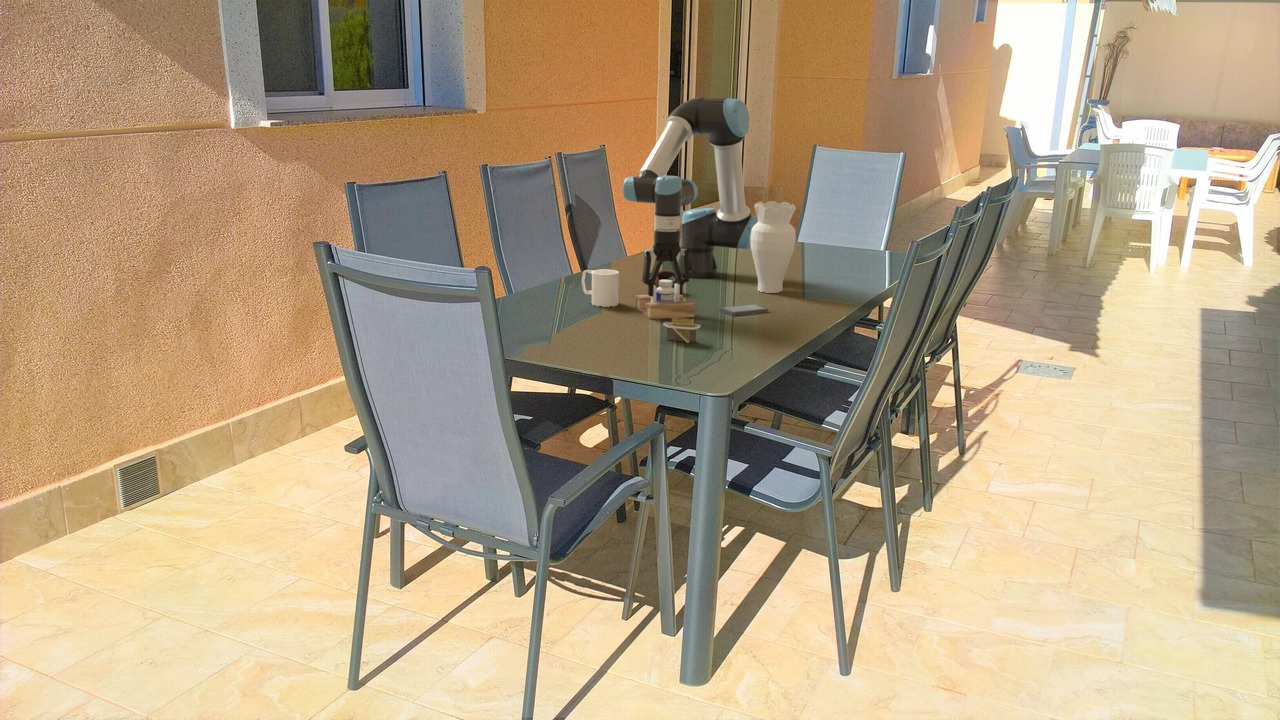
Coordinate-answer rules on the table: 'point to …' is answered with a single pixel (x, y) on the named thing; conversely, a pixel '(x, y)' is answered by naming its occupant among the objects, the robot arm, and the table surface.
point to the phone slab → (743, 309)
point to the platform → (681, 330)
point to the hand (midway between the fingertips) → (664, 306)
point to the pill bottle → (665, 291)
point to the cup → (603, 287)
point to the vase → (772, 243)
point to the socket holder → (664, 308)
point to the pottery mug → (664, 277)
